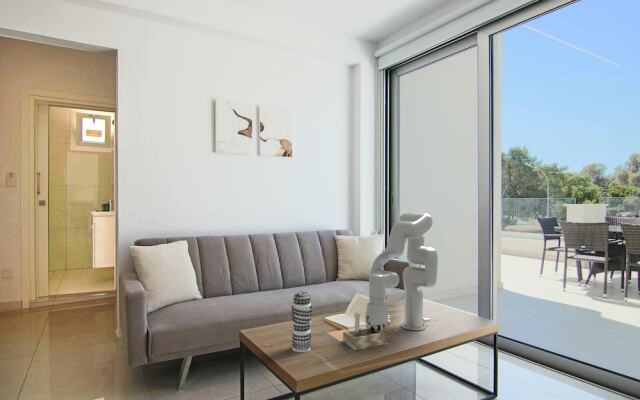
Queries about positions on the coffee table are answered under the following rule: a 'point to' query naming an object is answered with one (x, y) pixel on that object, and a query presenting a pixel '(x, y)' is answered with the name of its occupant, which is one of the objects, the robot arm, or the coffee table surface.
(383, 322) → the robot arm
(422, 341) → the coffee table surface
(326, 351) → the coffee table surface
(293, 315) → the decorative candle
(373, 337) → the open wooden box
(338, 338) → the pin stand
